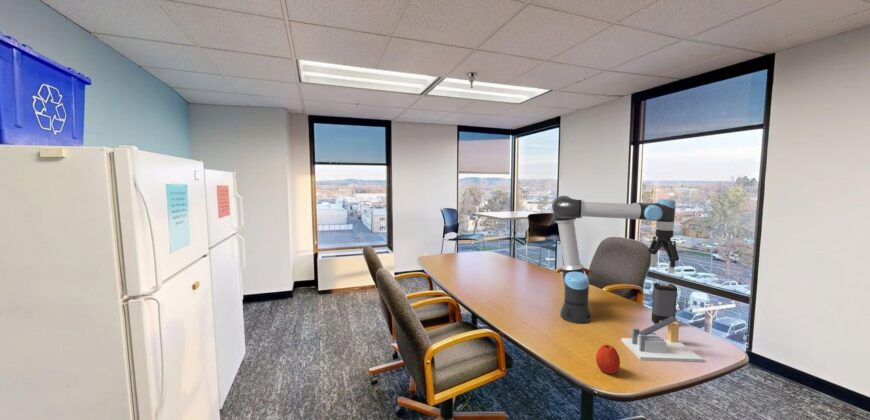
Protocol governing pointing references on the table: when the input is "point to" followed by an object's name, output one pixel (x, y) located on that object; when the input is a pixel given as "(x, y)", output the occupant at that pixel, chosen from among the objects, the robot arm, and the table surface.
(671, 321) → the strap
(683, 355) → the board
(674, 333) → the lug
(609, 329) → the table surface
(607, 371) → the apple
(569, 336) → the table surface
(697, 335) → the table surface
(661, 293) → the electronic device
